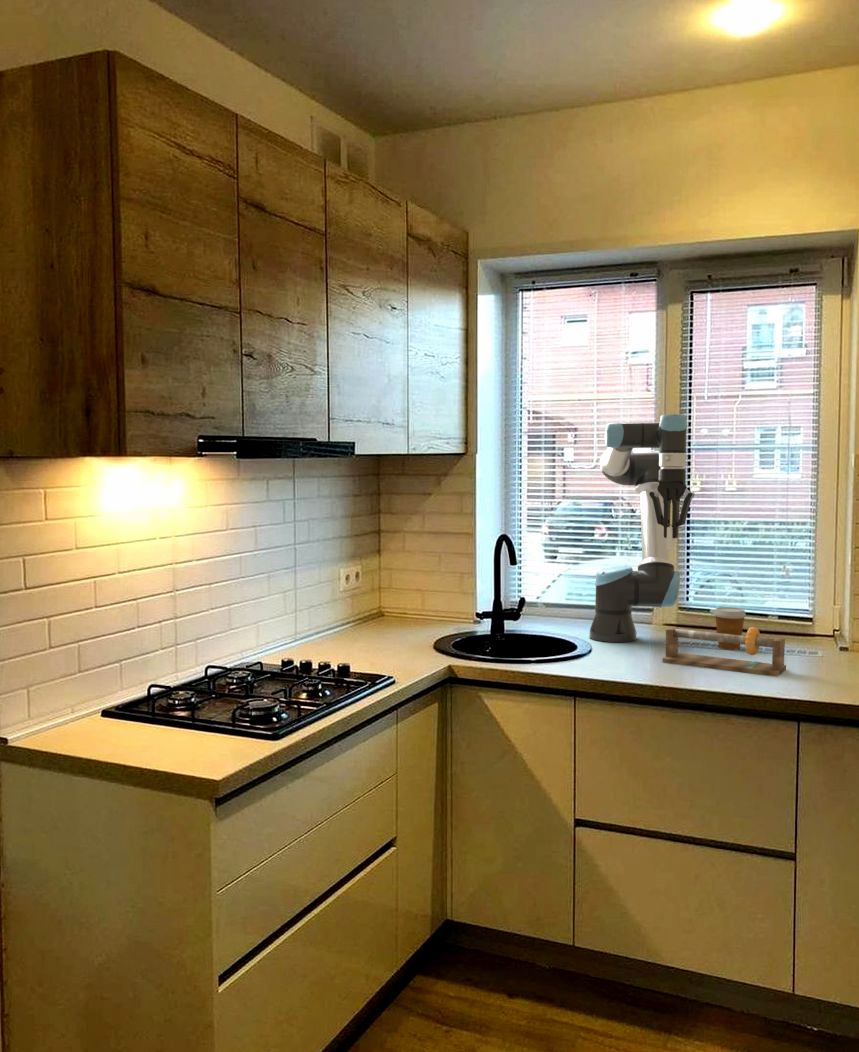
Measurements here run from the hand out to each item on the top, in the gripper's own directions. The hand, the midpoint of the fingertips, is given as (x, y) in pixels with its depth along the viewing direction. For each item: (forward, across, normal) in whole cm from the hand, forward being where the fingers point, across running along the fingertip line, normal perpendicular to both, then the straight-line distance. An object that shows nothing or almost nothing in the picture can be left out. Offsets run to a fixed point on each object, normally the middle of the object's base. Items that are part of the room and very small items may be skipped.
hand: (670, 549), depth 273 cm
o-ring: (+28, +24, 0) cm, 37 cm away
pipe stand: (+32, +16, 0) cm, 36 cm away
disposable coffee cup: (+33, +10, +27) cm, 43 cm away
